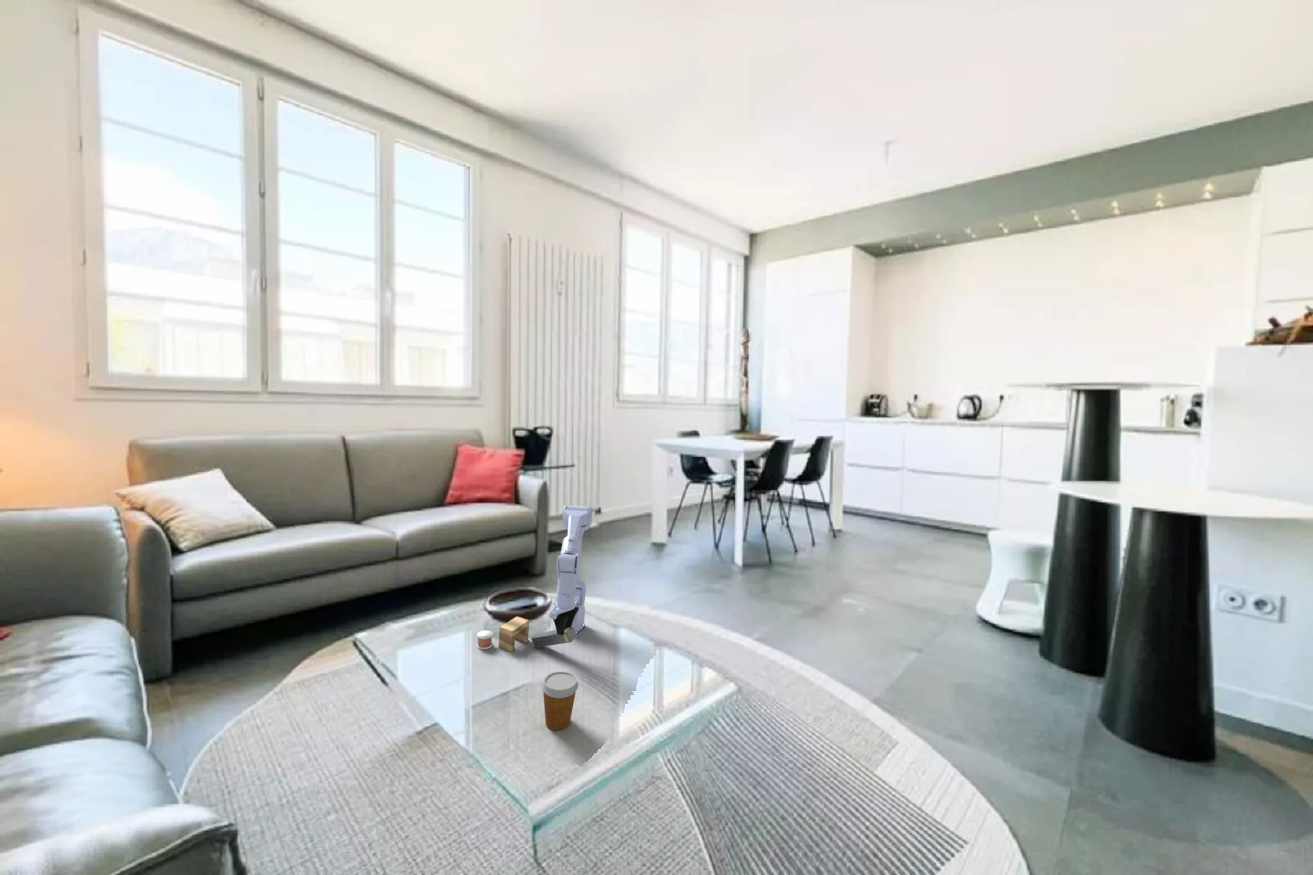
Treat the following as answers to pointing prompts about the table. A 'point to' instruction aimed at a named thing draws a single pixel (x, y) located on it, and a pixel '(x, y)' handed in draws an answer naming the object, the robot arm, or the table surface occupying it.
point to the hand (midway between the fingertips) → (563, 631)
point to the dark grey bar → (553, 638)
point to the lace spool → (484, 639)
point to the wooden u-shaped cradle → (513, 633)
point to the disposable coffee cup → (559, 698)
